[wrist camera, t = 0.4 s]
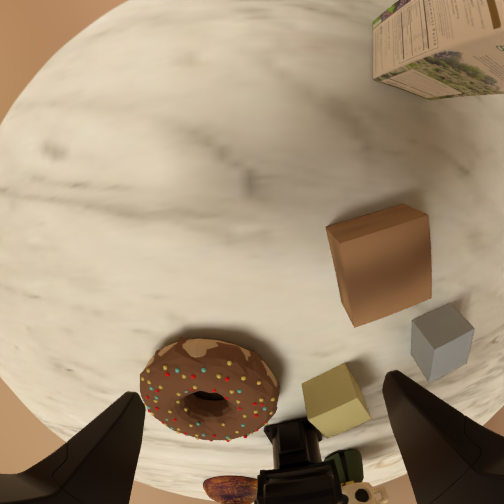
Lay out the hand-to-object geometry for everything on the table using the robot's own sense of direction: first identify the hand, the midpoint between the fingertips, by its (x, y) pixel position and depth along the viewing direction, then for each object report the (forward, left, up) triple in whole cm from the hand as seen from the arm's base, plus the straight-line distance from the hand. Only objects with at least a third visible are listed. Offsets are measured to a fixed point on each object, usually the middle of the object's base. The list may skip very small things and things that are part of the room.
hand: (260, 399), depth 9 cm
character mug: (-38, -2, -14) cm, 40 cm away
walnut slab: (-3, -9, -14) cm, 17 cm away
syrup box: (+12, -16, -14) cm, 24 cm away
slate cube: (-14, -15, -14) cm, 25 cm away
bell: (-43, +18, -14) cm, 49 cm away
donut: (-12, +9, -14) cm, 21 cm away
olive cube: (-17, -3, -14) cm, 22 cm away
